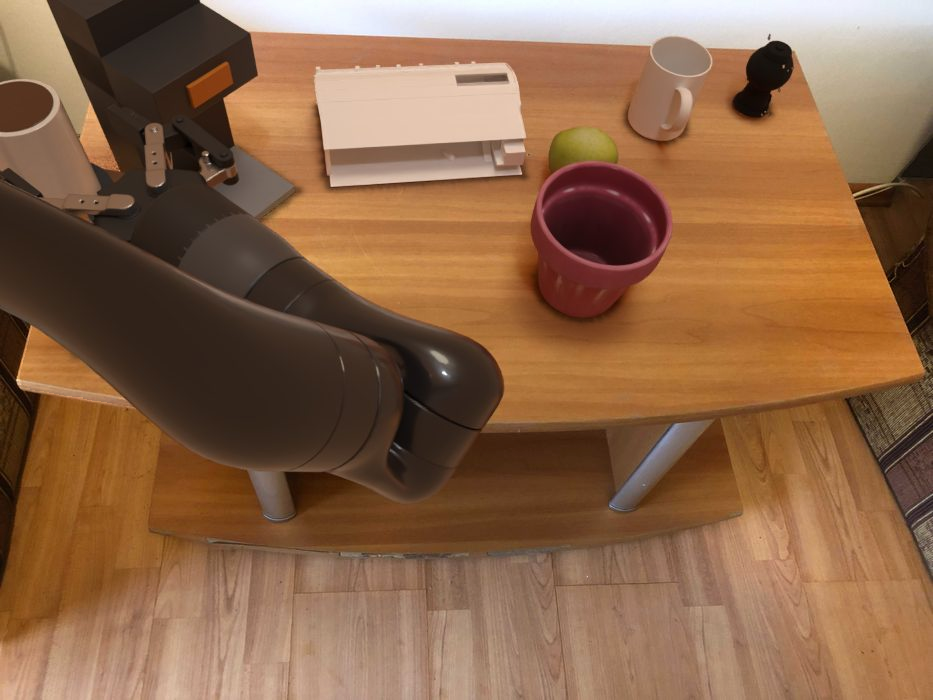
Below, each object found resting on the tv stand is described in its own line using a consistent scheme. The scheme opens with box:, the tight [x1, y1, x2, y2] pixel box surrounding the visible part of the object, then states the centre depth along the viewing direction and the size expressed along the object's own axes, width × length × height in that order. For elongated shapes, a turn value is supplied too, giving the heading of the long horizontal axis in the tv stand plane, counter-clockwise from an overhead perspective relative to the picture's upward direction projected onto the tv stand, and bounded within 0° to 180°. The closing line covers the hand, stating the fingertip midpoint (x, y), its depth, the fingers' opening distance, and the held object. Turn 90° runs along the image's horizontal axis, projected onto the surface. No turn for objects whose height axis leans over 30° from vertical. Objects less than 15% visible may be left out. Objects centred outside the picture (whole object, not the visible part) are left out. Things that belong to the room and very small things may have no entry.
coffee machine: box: [45, 0, 296, 221], centre depth 77 cm, size 16×12×24 cm
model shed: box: [312, 60, 527, 188], centre depth 92 cm, size 25×15×7 cm, turn 100°
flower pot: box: [530, 161, 674, 319], centre depth 79 cm, size 14×14×13 cm
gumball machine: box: [732, 33, 795, 119], centre depth 99 cm, size 7×6×10 cm
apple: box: [548, 126, 619, 175], centre depth 90 cm, size 8×9×8 cm
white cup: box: [0, 78, 101, 199], centre depth 56 cm, size 6×6×9 cm
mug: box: [627, 35, 713, 142], centre depth 95 cm, size 12×8×10 cm, turn 0°
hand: (62, 146), depth 52 cm, fingers open, 8 cm apart
